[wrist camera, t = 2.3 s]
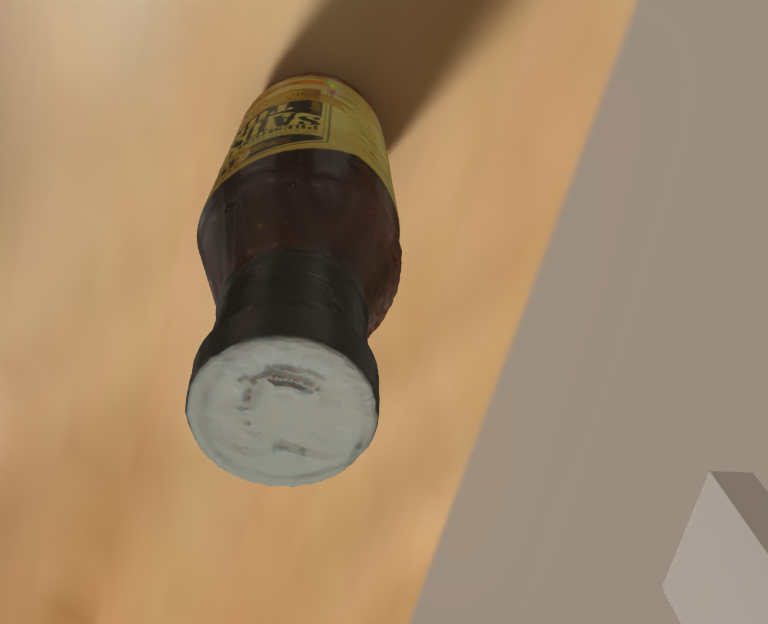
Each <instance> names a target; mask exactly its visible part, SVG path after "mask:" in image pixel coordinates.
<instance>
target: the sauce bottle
mask: <svg viewBox="0 0 768 624" xmlns="http://www.w3.org/2000/svg"><path fill="white" fill-rule="evenodd" d="M399 238H400V227H399V217H398V211H397V206H396V201H395V195H394V189H393V185H392V179H391V172H390V166H389V161H388V155H387V149H386V144H385V140H384V135H383V131H382V128H381V125H380V123H379V120H378V118H377V116H376V114H375V113H374V111H373V110H372V108H371V107H370V105H369V104H368V103H367V101H366V99H365V98H364V97H363V96H362V95H361V93H360V92H359V91H358V90H357V89H355V88H354V87H353V86H351V85H350V84H348V83H347V82H345V81H343V80H340V79H337V78H335V77H332V76H326V75H319V74H316V73H305V74H301V75H297V76H292V77H290V78H288V79H286V80H284V81H282V82H279V83H276V84H274V85H273V86H272V87H270V88H269V89H267V90H266V91H265V92H263V93H262V94H261V95H260V96H259V97H258V98H257V99H256V100H255V101H254V102H253V104H252V105H251V106H250V108H249V109H248V111H247V112H246V114H245V116H244V119H243V121H242V123H241V125H240V127H239V130H238V132H237V134H236V136H235V138H234V141H233V143H232V145H231V148H230V150H229V152H228V154H227V156H226V159H225V161H224V163H223V165H222V167H221V169H220V171H219V174H218V177H217V179H216V181H215V183H214V186H213V188H212V190H211V192H210V194H209V197H208V199H207V201H206V203H205V206H204V208H203V211H202V213H201V216H200V220H199V224H198V230H197V243H198V250H199V253H200V256H201V259H202V262H203V266H204V269H205V272H206V275H207V279H208V282H209V285H210V288H211V292H212V295H213V298H214V301H215V305H216V322H215V324H214V327H213V330H212V331H211V332H210V333H209V335H208V336H207V337H206V338H205V339H204V341H203V342H202V344H201V346H200V348H199V350H198V352H197V354H196V357H195V359H194V363H193V369H192V375H191V378H190V381H189V387H188V392H187V397H186V408H185V413H186V416H187V420H188V423H189V426H190V429H191V431H192V433H193V436H194V438H195V440H196V441H197V443H198V445H199V446H200V448H201V450H202V451H203V452H204V453H205V454H206V456H207V457H208V458H210V459H211V460H213V461H214V463H215V464H216V465H217V466H218V467H220V468H222V469H224V470H225V471H227V472H229V473H231V474H232V475H234V476H236V477H239V478H241V479H243V480H246V481H250V482H254V483H259V484H263V485H267V486H289V487H296V486H300V485H305V484H313V483H316V482H319V481H322V480H325V479H327V478H330V477H332V476H335V475H337V474H338V473H340V472H342V471H343V470H345V469H346V468H347V467H348V466H349V465H351V464H352V463H353V462H354V461H355V460H356V458H357V457H358V456H359V455H361V454H362V453H363V452H364V451H365V449H366V448H367V447H368V446H369V445H370V443H371V441H372V439H373V437H374V435H375V432H376V428H377V425H378V418H379V400H380V397H379V375H378V369H377V363H376V360H375V357H374V355H373V353H372V350H371V349H370V347H369V345H368V341H367V339H368V338H369V336H370V335H371V334H372V333H373V331H375V330H376V329H377V328H378V327H379V325H380V323H381V322H382V321H383V319H384V317H385V315H386V314H387V312H388V309H389V308H390V307H391V305H392V303H393V298H394V297H395V295H396V293H397V289H398V284H399V280H400V272H401V264H402V262H401V256H402V250H401V246H400V243H399Z"/></svg>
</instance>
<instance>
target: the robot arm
mask: <svg viewBox="0 0 768 624" xmlns="http://www.w3.org/2000/svg"><path fill="white" fill-rule="evenodd" d="M662 588H663V590H664V592H665V594H666V596H667V598H668V600H669V602H670V604H671V606H672V608H673V610H674V612H675V614H676V616H677V618H678V619H679V622H680V623H681V624H768V492H767V490H766V489H765V488H764V487H763V485H762V484H761V483H760V481H759V480H758V479H757V478H756V476H755V475H754V474H753V473H746V472H720V471H719V472H718V471H709V474H708V476H707V479H706V481H705V484H704V486H703V489H702V491H701V493H700V496H699V498H698V501H697V503H696V506H695V508H694V511H693V513H692V515H691V518H690V520H689V523H688V525H687V528H686V530H685V533H684V535H683V538H682V540H681V542H680V545H679V547H678V550H677V552H676V554H675V557H674V559H673V562H672V564H671V567H670V569H669V572H668V574H667V577H666V579H665V581H664V584H663V586H662Z"/></svg>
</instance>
